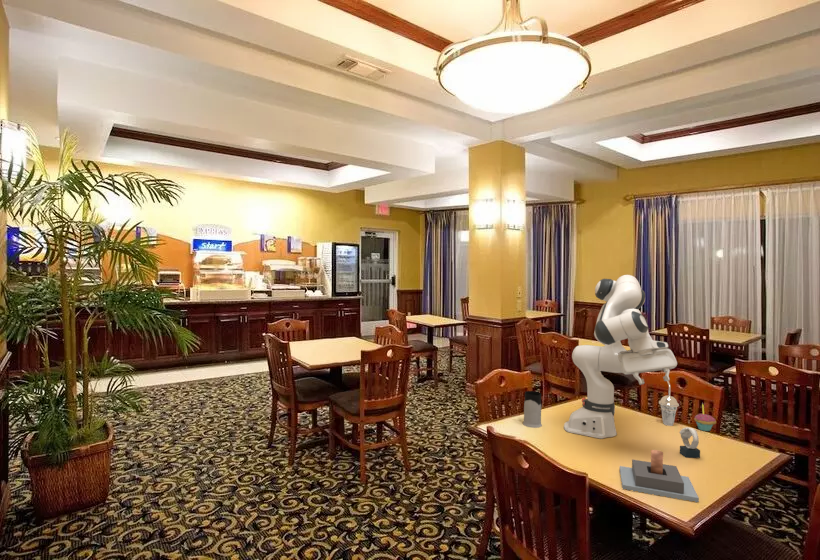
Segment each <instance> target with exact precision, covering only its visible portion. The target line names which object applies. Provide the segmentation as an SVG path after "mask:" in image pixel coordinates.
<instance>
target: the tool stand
mask: <svg viewBox="0 0 820 560" xmlns="http://www.w3.org/2000/svg"><path fill="white" fill-rule="evenodd" d="M620 475H621V476H620ZM619 476H620V481H621V482H622V483H621V488H623V489H622V490H624V489H627V490H626V491H629V490H633V491H632V492H635V491H638V492H637V493H641V492H644V493H643V494H646V493H648V495H652V494H654V495H653V496H658V495H660V496H659V497H663V496H666V497H665V498H669V497H671V499H675V498H677V499H676V500H680V499H683V500H682V501H686V500H689V501H688V502H692V501H695V502H694V503H697V502H699V501H700V497H699V496H698V493H697V491H696V490H695V487H694V485H693V483H692V481H691V479H690V477H689V476H685V475H681V473H680V471H679V469H678V467H677V465H676V466H675V465H671V464H664V463H663V475H660V474H654V473H651V461H645V460H640V459H639V460H638V459H631V467H629V466H624V465H619Z"/></svg>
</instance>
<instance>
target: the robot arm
mask: <svg viewBox="0 0 820 560" xmlns="http://www.w3.org/2000/svg"><path fill="white" fill-rule="evenodd" d="M641 287H642V286H641V285H640V282H639V281H638V279H637V278H636V277H635V276H634V275H631V274H624V275H621V276H619V277H618V278H617V280H614V279H611V278H602V279H600V280H599V281H598V282H597V283H596V285H595V288H594V295H595V298H597V299H598V300H601V301H605V303H604V304H603V305H602V306H601V309H600V310H599V313H598V314H597V315H598V316H597V318H596V323H595V326H594V333H593V336H594V338H595V339H596V340H597V341H598V342H599V343H601V345H604V346H601V345H591V344H590V345H589V344H584V345H583V344H581V345H577V346H575V347H574V348H573V351H572V354H571V359H572V362H573V364H574V365H575V366H576V367H577V368H578V369H579V370H580V371H581V372H582V374H583V376H584V378H585V380H586V381H585V382H586V387H587V388H586V389H587V394H586V395H587V398H585V397H582V398H581V402H582V406H581V407H579V408H578V409H575V410H574V411H572V413H571V414H570V415H569V419H568V421H565V422H564V424H563V429H564V431H565V432H567V433H571V434H575V435H581V436H586V437H590V438H591V437H592V438H594V439H600V440H601V439H605V438H612V437H615V436H617V434H618V432H617V429H616V424H615V411H616V405H615V401H614V399H615V398H614V397H615V396H614V395H615V386H614V384H613V383H612V382H611V381H610V379H607V378H606V377H604V375H603V374H602V372H607V373H613V374H617V373H618V374H621V373H622V374H624V376H625V375H626V376H627V375H628V376H629V375H633V378H634V379H636V380H637V381H638V384H639V385H640V386H641V385H644V384H645V379H644V378H641V377H640V376H639V374H641V373H650V372H657V371H663V373H665V375H664V376H662V378H663V381H664V382H667V381H669V382H670V380H671V379H670V377H669V375H670V371H671V370H672V369H675V368H676V367H677V365H678V361H677V359H676V357H675V355H674V352H673V351H672V350H671V349H670V348H669V343H668V342H666V341H659V340H654V339H653V338H652V336H651V335H650V333H649V324H648V322H647V320H646V317H645V315H643V314H642V312H641V310H639V309H641V308H642V306H643V305H644V304H645V301H646V293H645V291H644V290H643V289H642V288H641ZM623 340H628V341H627V344H628V346H629V349H626V348H625V347H624V346H623V344H622V342H621V341H623Z"/></svg>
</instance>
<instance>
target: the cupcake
mask: <svg viewBox="0 0 820 560" xmlns="http://www.w3.org/2000/svg"><path fill="white" fill-rule="evenodd" d="M701 410H702V411H701V412H702V413H698V414H696V415H695V416H694V419H693V421H695V423H696V425H697V428H698V430H700V431H704V432H710V431H711V430H712V427H713V426H714V425H716V424H717V421H716V418H715V417H713V416H712V415H711V414H710V415H709V414H706V413H705V406H704V403H703V402H702V403H701Z"/></svg>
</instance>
